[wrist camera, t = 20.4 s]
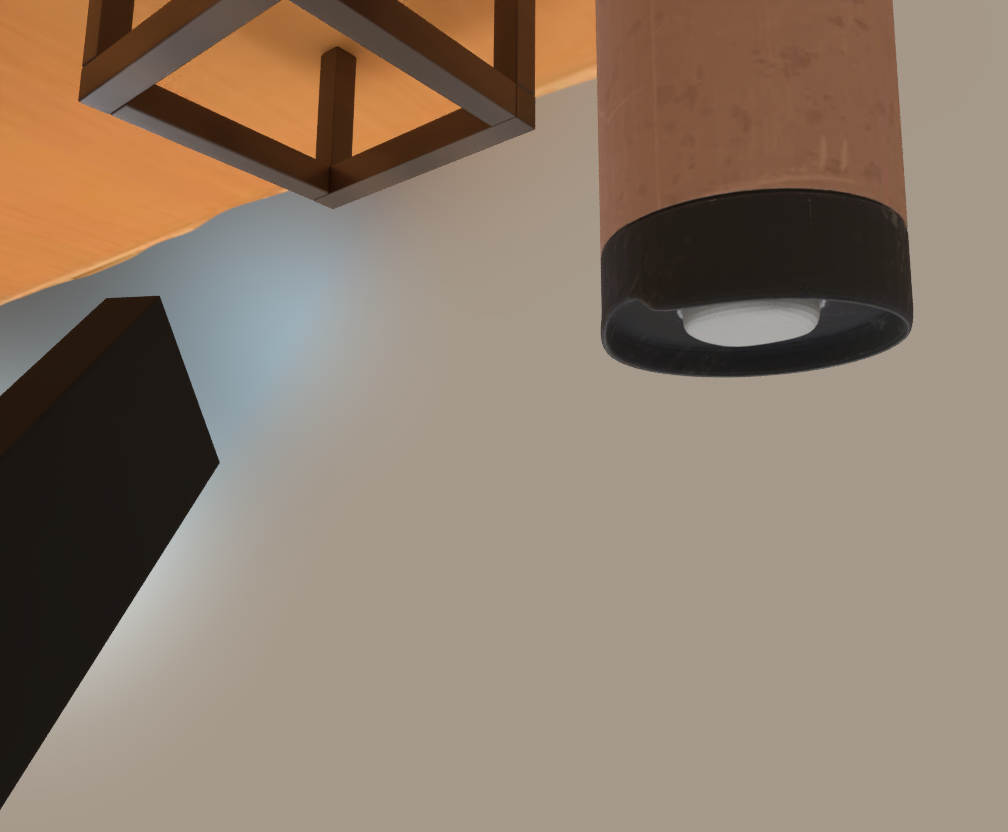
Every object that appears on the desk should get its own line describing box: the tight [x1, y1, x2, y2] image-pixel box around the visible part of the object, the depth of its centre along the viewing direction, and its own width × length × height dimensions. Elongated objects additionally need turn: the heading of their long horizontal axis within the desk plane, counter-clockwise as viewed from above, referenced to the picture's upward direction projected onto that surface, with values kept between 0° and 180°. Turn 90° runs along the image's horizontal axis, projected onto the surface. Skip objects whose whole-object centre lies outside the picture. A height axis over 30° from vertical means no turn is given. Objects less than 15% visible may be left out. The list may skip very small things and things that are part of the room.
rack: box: [78, 0, 535, 209], centre depth 36 cm, size 13×13×8 cm
